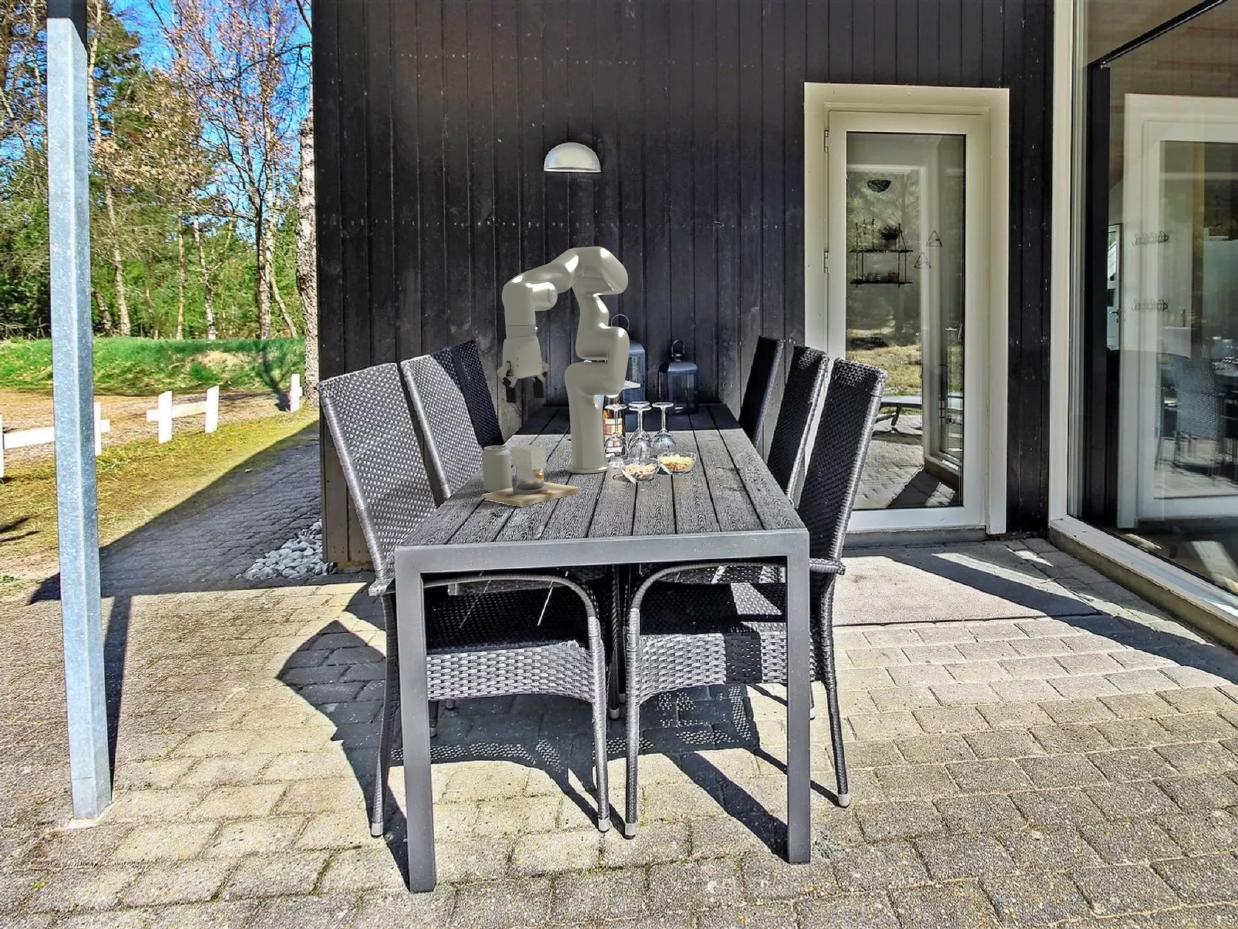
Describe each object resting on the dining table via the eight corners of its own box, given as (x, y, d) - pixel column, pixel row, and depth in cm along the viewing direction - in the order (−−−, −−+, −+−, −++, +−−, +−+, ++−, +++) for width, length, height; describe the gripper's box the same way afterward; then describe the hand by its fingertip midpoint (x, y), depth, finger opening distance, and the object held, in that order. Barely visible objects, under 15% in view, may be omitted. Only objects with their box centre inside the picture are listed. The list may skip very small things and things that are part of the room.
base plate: (540, 486, 236) (540, 477, 236) (579, 493, 226) (578, 483, 226) (482, 500, 222) (481, 490, 221) (520, 507, 212) (520, 497, 211)
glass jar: (509, 485, 225) (507, 447, 223) (532, 481, 229) (530, 443, 227) (531, 491, 217) (529, 451, 215) (554, 486, 221) (552, 447, 219)
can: (515, 487, 236) (512, 444, 233) (509, 493, 228) (506, 448, 226) (487, 488, 236) (485, 444, 234) (481, 494, 229) (477, 449, 227)
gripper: (534, 330, 227) (538, 395, 231) (485, 334, 214) (490, 404, 218) (555, 330, 223) (559, 396, 226) (506, 334, 210) (511, 405, 213)
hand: (525, 400), depth 222 cm, fingers open, 9 cm apart
